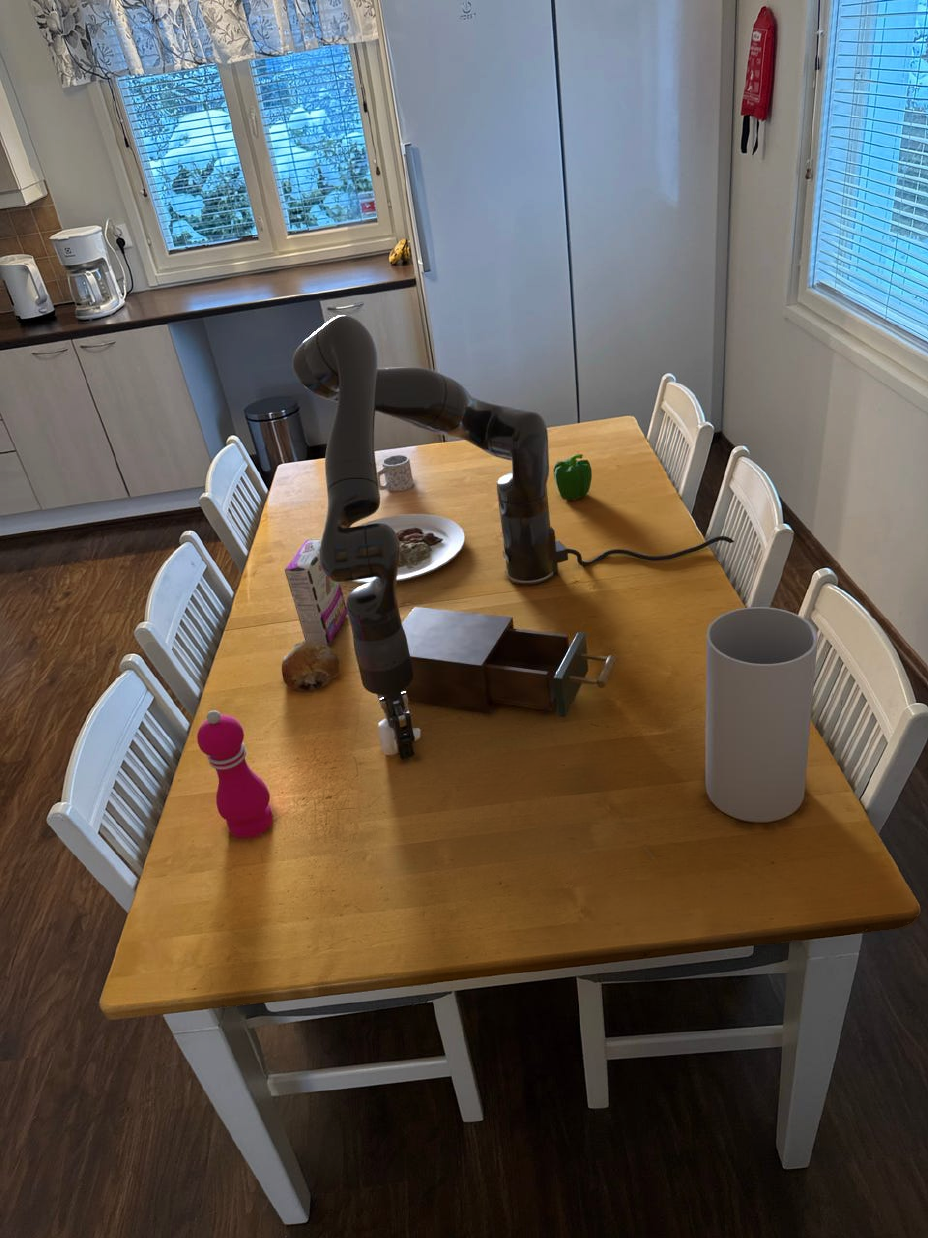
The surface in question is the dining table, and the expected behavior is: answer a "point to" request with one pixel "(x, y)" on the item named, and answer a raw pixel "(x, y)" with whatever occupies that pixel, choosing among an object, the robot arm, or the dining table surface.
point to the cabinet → (452, 656)
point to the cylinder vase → (758, 711)
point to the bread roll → (309, 666)
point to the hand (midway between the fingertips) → (402, 744)
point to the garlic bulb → (391, 737)
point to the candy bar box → (315, 594)
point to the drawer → (541, 669)
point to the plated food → (422, 543)
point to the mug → (396, 473)
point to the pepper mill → (235, 777)
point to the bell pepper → (573, 477)
